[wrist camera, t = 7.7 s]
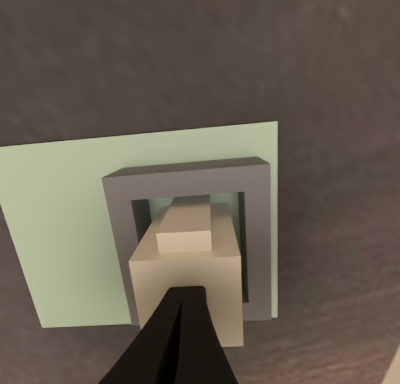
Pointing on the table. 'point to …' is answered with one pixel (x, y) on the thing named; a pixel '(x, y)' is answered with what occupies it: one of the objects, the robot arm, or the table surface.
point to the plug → (192, 262)
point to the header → (134, 213)
